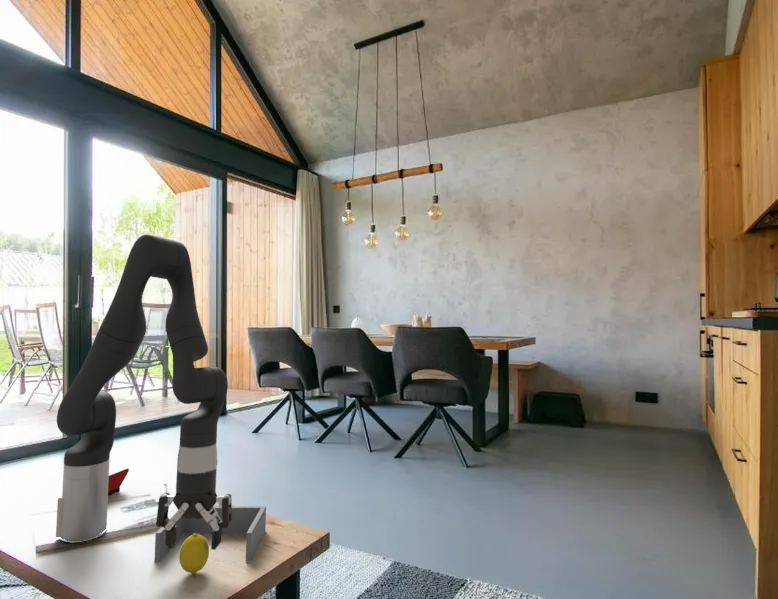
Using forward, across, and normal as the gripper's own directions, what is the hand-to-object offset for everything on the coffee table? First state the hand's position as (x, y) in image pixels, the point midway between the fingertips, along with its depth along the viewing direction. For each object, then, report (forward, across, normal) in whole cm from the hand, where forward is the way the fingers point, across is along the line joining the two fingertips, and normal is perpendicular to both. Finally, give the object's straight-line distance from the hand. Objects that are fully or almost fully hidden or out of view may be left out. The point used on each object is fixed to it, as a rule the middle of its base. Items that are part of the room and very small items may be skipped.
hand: (193, 547), depth 98 cm
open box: (+5, 0, +12) cm, 14 cm away
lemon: (+6, 0, 0) cm, 6 cm away
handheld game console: (+6, -42, +42) cm, 60 cm away
